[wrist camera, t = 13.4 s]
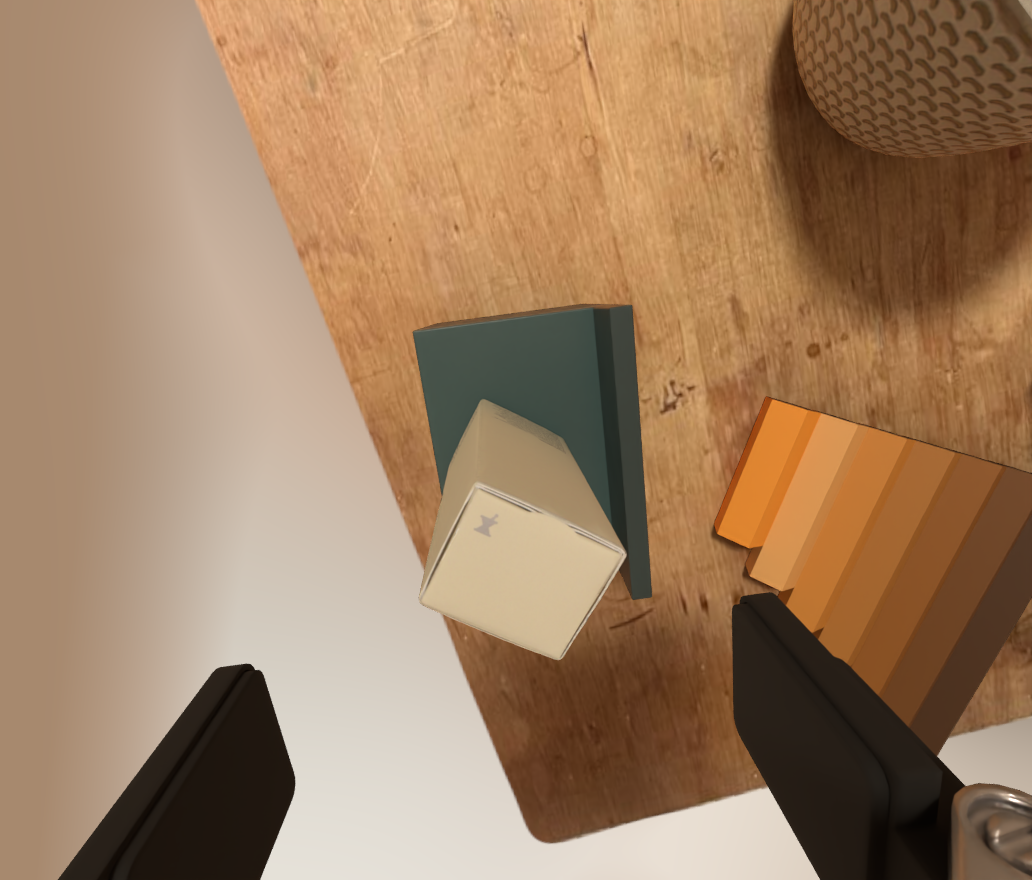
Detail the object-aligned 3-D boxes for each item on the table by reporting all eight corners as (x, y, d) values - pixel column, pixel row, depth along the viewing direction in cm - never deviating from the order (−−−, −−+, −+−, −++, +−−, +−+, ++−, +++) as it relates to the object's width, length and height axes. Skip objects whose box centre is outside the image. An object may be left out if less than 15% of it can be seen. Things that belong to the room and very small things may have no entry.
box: (446, 467, 27) (401, 604, 15) (482, 394, 26) (467, 475, 14) (534, 508, 28) (561, 671, 16) (573, 439, 27) (634, 553, 15)
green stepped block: (466, 517, 38) (449, 624, 25) (434, 323, 34) (396, 336, 22) (602, 499, 38) (652, 597, 25) (584, 303, 34) (632, 304, 22)
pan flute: (910, 746, 44) (1063, 482, 38) (943, 781, 41) (1115, 498, 35) (639, 686, 42) (757, 393, 36) (650, 718, 39) (782, 402, 33)
